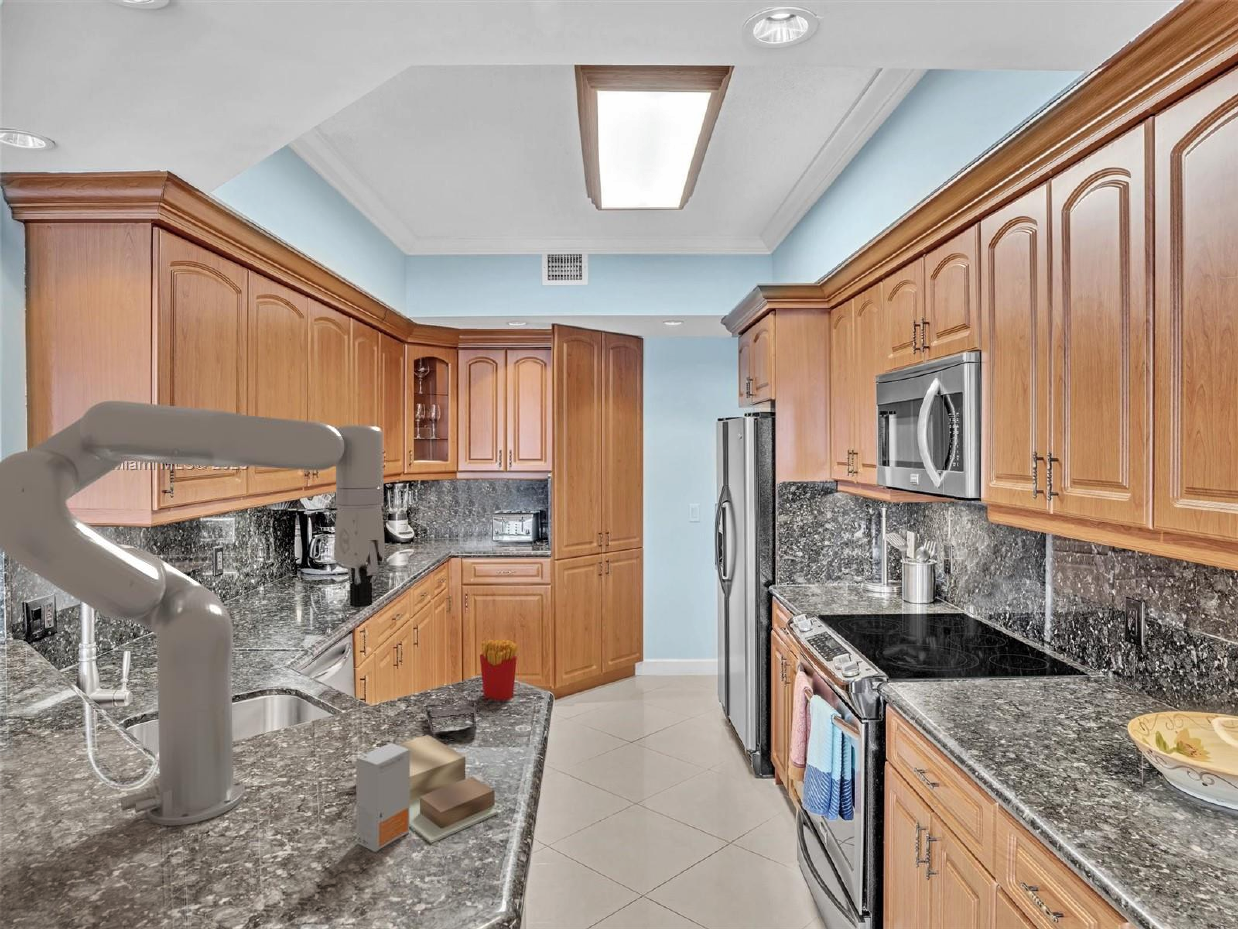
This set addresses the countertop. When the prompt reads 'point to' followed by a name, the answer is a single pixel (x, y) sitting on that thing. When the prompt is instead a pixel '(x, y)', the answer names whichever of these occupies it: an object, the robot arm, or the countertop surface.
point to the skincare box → (382, 796)
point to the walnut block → (457, 802)
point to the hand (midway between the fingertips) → (361, 605)
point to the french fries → (498, 669)
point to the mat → (432, 830)
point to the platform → (432, 765)
